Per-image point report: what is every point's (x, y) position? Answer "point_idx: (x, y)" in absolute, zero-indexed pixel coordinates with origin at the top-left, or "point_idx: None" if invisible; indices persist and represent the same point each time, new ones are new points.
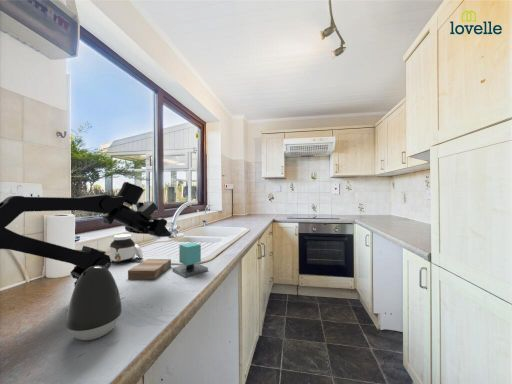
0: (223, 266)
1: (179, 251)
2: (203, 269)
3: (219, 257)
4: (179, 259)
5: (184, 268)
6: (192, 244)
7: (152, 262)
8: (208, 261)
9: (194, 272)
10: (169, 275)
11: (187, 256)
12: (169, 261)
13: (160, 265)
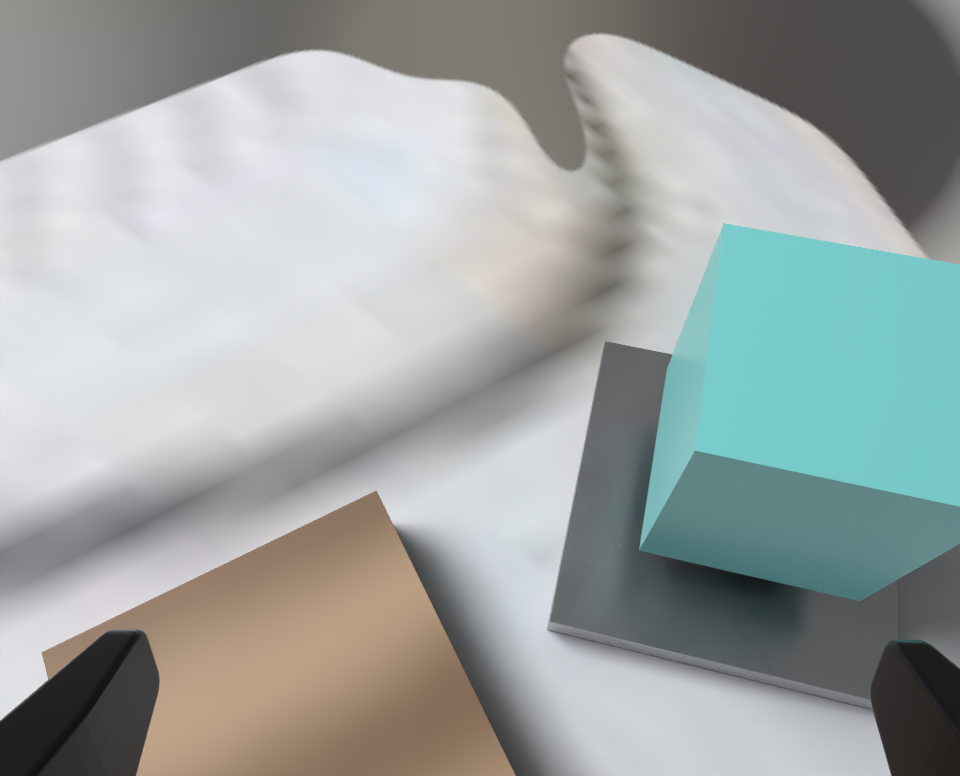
0: (894, 250)
1: (672, 498)
2: None
3: (625, 87)
4: (645, 538)
5: None
6: (873, 327)
7: (250, 735)
8: (631, 214)
9: None
10: (654, 764)
11: (921, 559)
12: (398, 537)
13: (482, 767)
